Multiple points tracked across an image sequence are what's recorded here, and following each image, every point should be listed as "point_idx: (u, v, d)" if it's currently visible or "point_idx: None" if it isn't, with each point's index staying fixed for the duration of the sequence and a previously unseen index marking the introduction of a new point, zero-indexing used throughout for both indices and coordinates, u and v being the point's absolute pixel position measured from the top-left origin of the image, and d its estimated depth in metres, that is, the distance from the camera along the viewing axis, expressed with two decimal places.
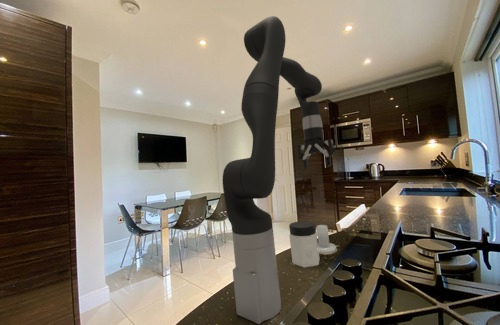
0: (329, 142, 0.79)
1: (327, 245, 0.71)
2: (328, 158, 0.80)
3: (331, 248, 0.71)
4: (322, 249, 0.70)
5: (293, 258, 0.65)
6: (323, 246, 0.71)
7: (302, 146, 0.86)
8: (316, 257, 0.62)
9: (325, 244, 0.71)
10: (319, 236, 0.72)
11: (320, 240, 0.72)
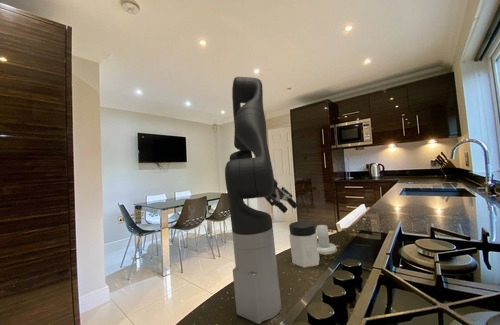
0: (284, 188, 0.89)
1: (327, 245, 0.71)
2: None
3: (331, 248, 0.71)
4: (322, 249, 0.70)
5: (293, 258, 0.65)
6: (323, 246, 0.71)
7: None
8: (316, 257, 0.62)
9: (325, 244, 0.71)
10: (319, 236, 0.72)
11: (320, 240, 0.72)
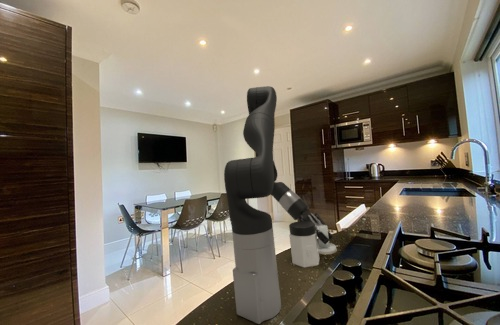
0: (317, 215, 0.80)
1: (327, 245, 0.71)
2: None
3: (331, 248, 0.70)
4: (322, 249, 0.70)
5: (293, 258, 0.65)
6: (323, 246, 0.71)
7: None
8: (316, 257, 0.62)
9: (325, 244, 0.71)
10: None
11: (320, 240, 0.72)
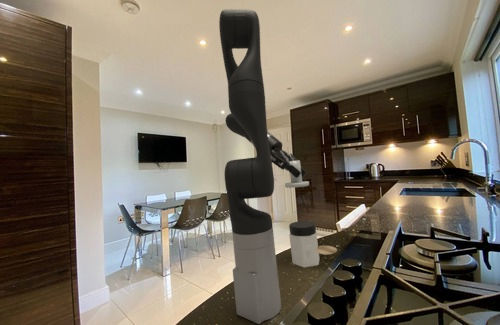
0: (292, 155, 0.74)
1: (299, 180, 0.65)
2: None
3: (303, 182, 0.65)
4: (293, 183, 0.64)
5: (293, 258, 0.65)
6: (295, 181, 0.66)
7: None
8: (316, 257, 0.62)
9: (297, 178, 0.65)
10: None
11: (292, 175, 0.66)
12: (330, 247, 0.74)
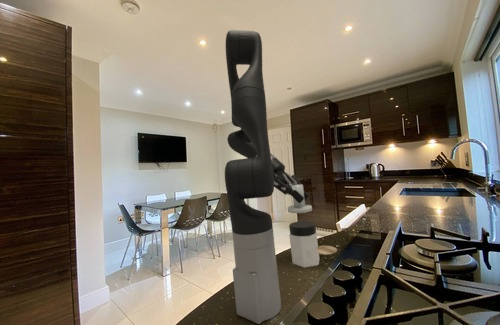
0: (294, 176, 0.74)
1: (302, 205, 0.65)
2: None
3: (306, 207, 0.64)
4: (296, 208, 0.64)
5: (293, 258, 0.65)
6: (298, 206, 0.65)
7: None
8: (316, 257, 0.62)
9: (300, 203, 0.65)
10: None
11: (295, 200, 0.66)
12: (330, 247, 0.74)
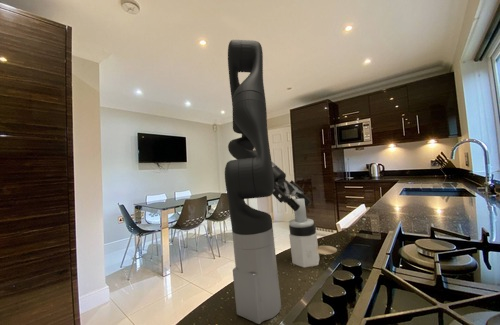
0: (293, 182, 0.75)
1: (304, 219, 0.65)
2: None
3: (308, 222, 0.64)
4: (298, 223, 0.64)
5: (293, 258, 0.65)
6: (299, 220, 0.65)
7: None
8: (316, 257, 0.62)
9: (302, 218, 0.65)
10: None
11: (296, 214, 0.65)
12: (330, 247, 0.74)
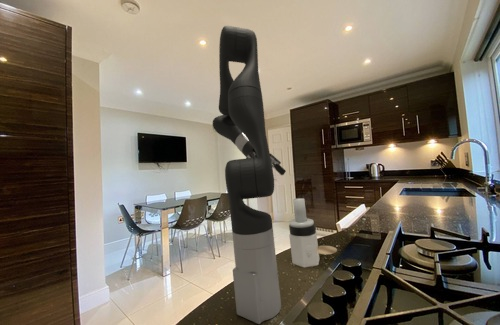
0: (271, 155, 0.80)
1: (304, 219, 0.65)
2: (280, 166, 0.77)
3: (308, 222, 0.64)
4: (298, 223, 0.64)
5: (293, 258, 0.65)
6: (299, 220, 0.65)
7: None
8: (316, 257, 0.62)
9: (302, 218, 0.65)
10: (295, 210, 0.66)
11: (296, 214, 0.65)
12: (330, 247, 0.74)
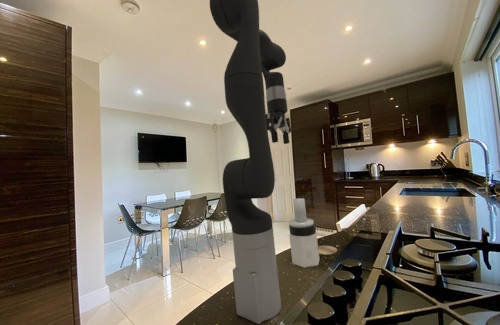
0: (289, 120, 0.83)
1: (304, 219, 0.65)
2: None
3: (308, 222, 0.64)
4: (298, 223, 0.64)
5: (293, 258, 0.65)
6: (299, 220, 0.65)
7: None
8: (316, 257, 0.62)
9: (302, 218, 0.65)
10: (295, 210, 0.66)
11: (296, 214, 0.65)
12: (330, 247, 0.74)
